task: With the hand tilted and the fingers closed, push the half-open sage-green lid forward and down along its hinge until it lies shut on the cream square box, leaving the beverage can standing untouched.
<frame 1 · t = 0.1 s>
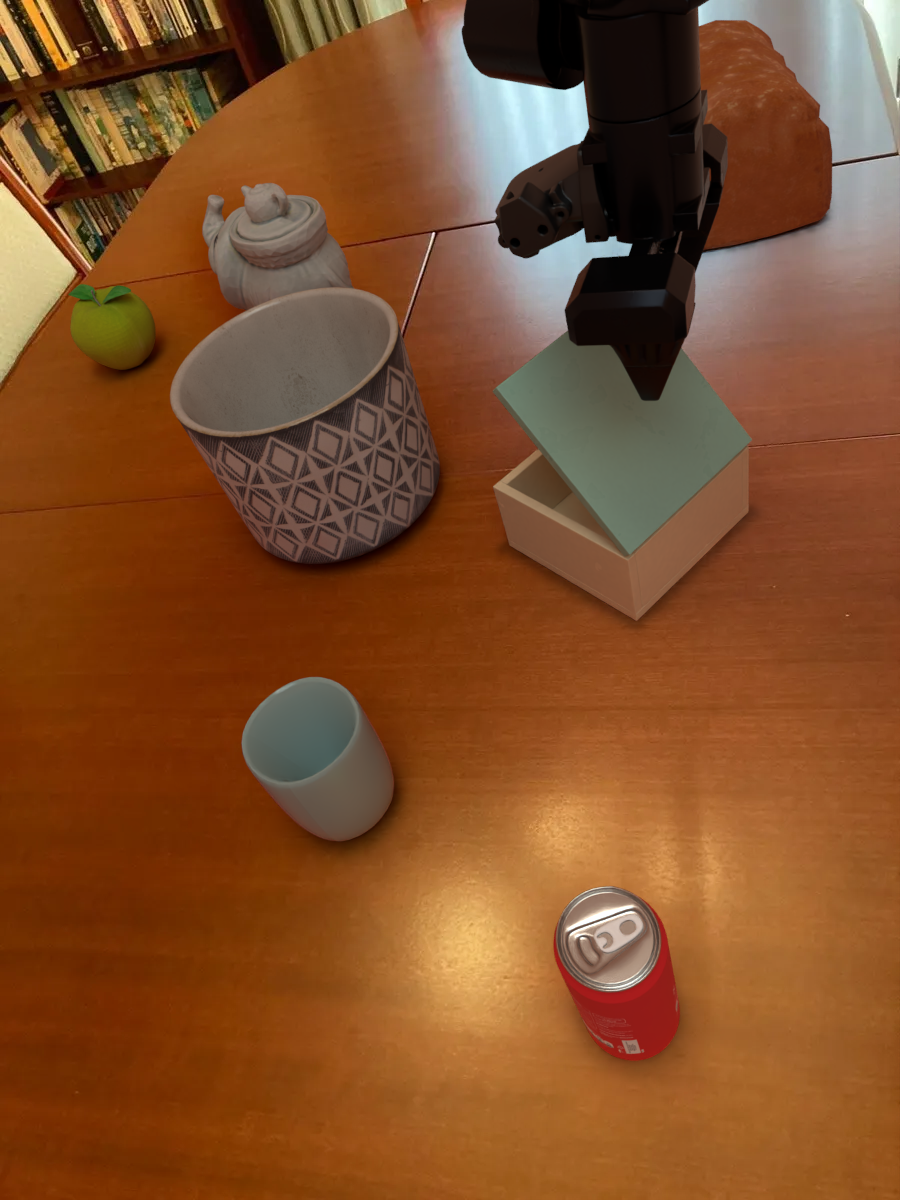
hand: (662, 353, 56), 18 cm above the table, tool pointing down, fingers open, 9 cm apart
cream square box: (625, 529, 72), on the table
bread: (728, 193, 101), on the table
fruit: (134, 363, 110), on the table
cup: (353, 805, 61), on the table
teapot: (305, 337, 104), on the table
maker lid: (627, 416, 61), point 12 cm above the table, hinge at 45.0°
planter: (350, 504, 82), on the table
beverage can: (632, 1014, 49), on the table
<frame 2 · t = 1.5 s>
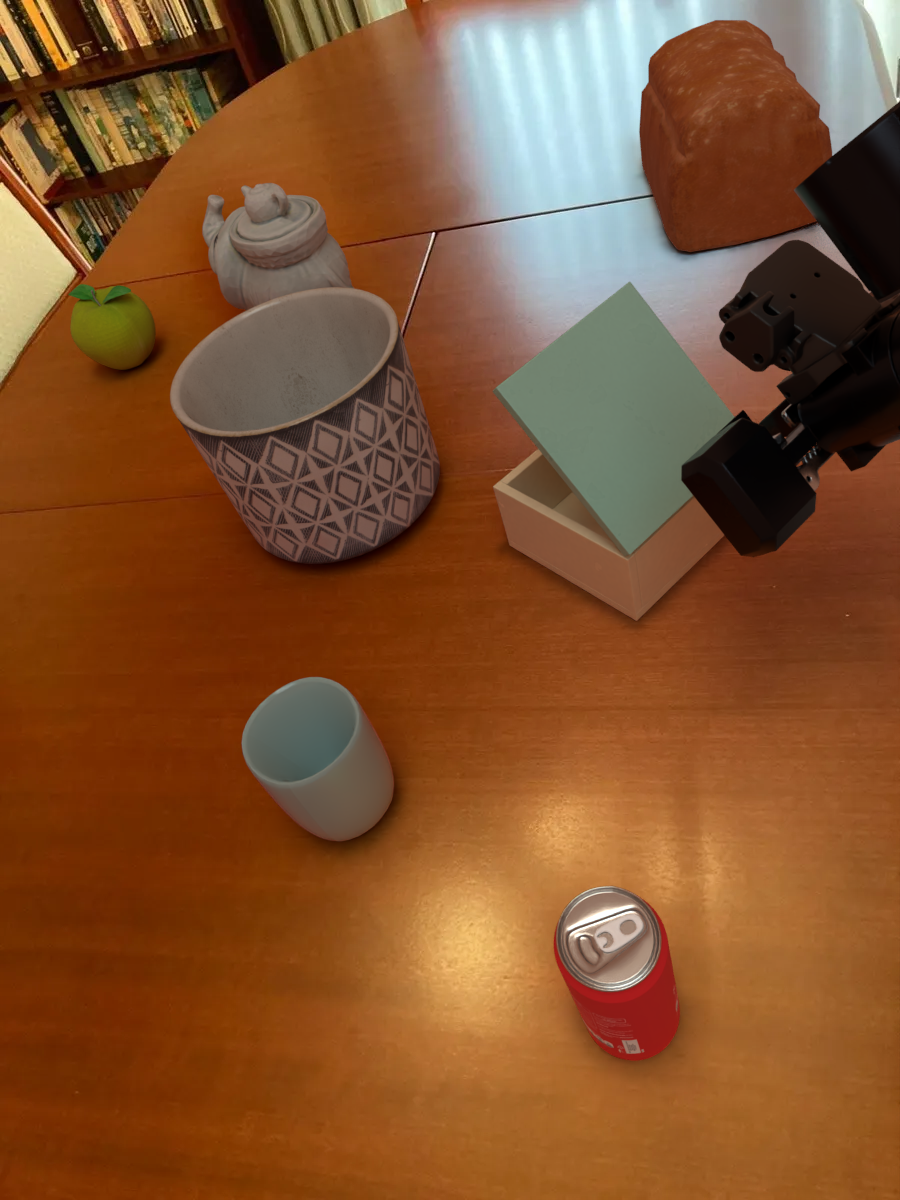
hand: (737, 454, 55), 13 cm above the table, tool tilted 45°, fingers open, 5 cm apart
nothing on the table moved.
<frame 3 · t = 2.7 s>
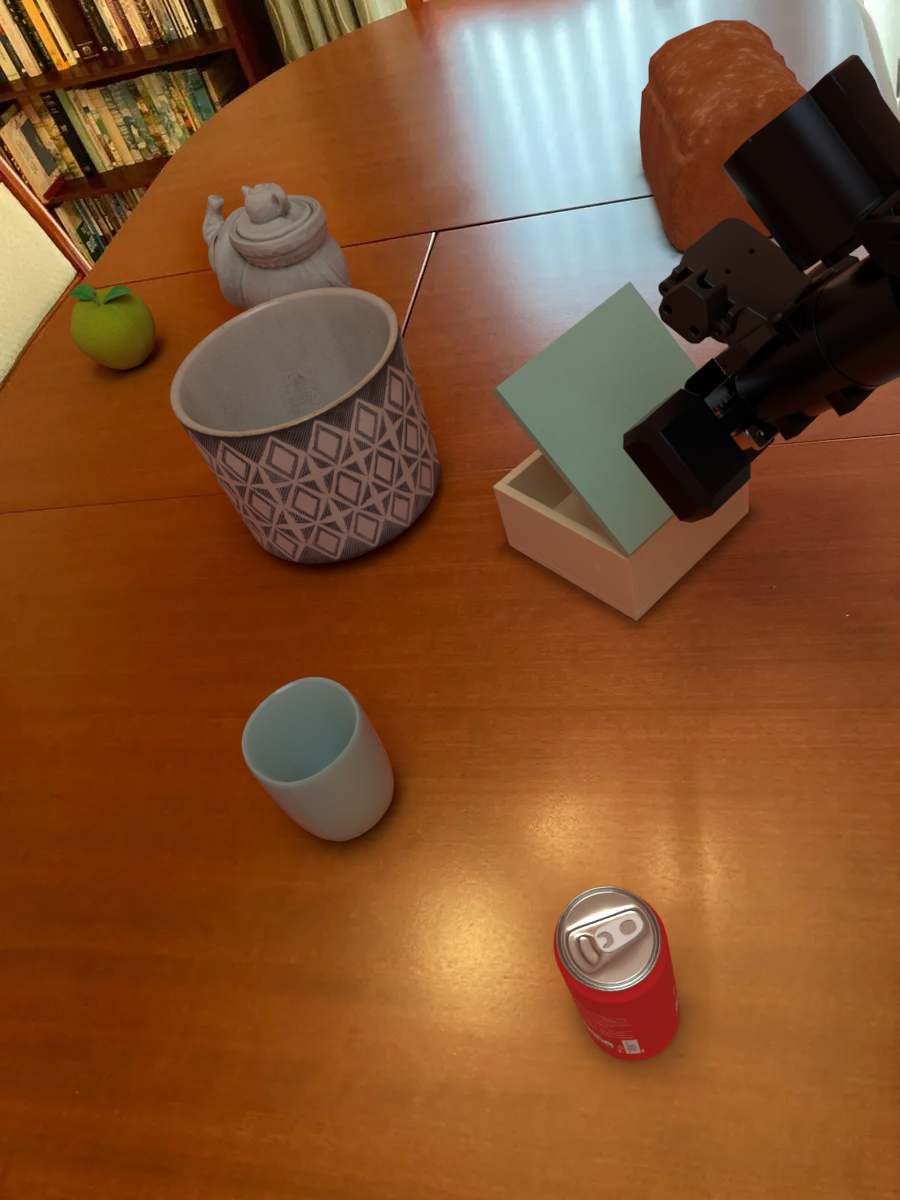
hand: (686, 428, 57), 14 cm above the table, tool tilted 45°, fingers closed
nothing on the table moved.
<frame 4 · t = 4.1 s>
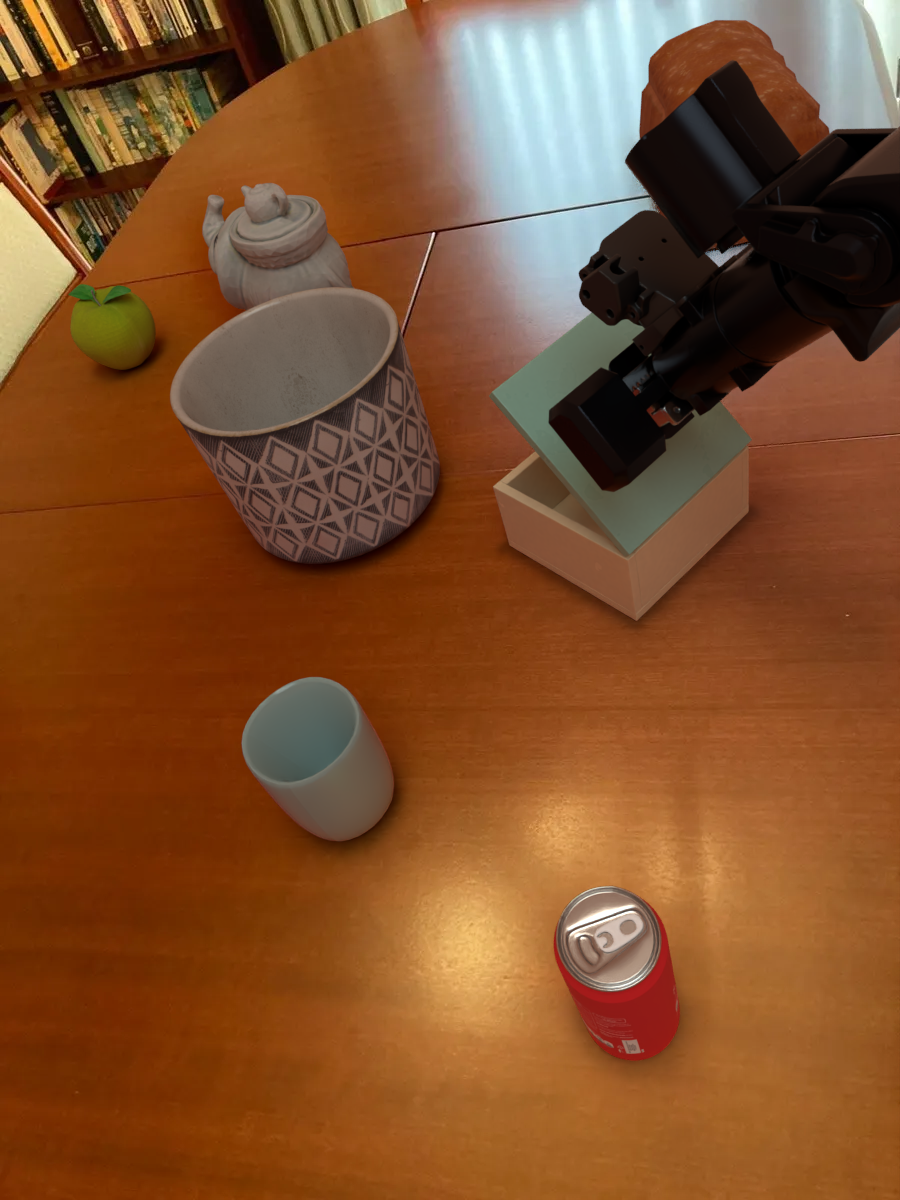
hand: (620, 408, 61), 13 cm above the table, tool tilted 45°, fingers closed, pressing on maker lid
maker lid: (624, 418, 62), point 12 cm above the table, hinge at 41.7°, touching gripper
everything else where it was.
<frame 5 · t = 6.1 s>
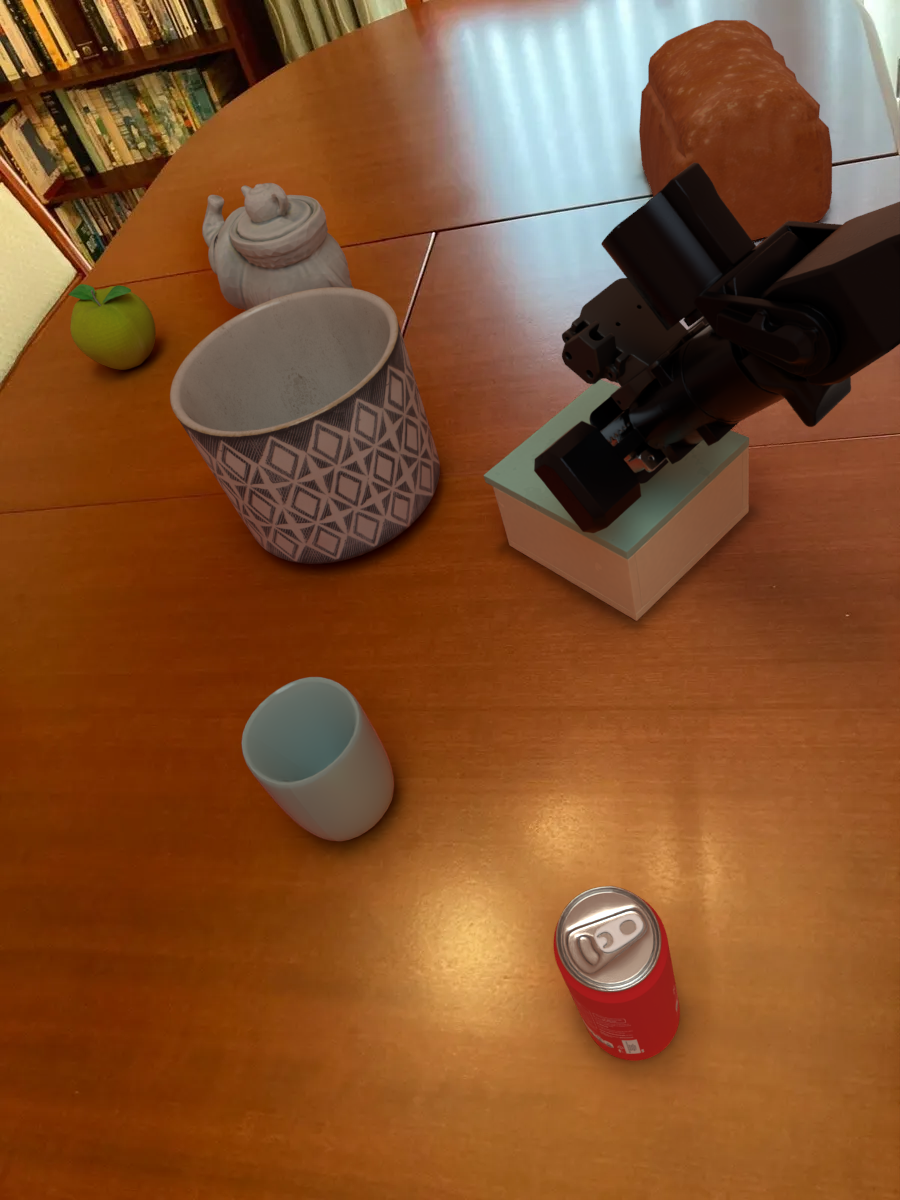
hand: (602, 450, 66), 8 cm above the table, tool tilted 45°, fingers closed, pressing on maker lid
maker lid: (612, 460, 66), point 7 cm above the table, hinge at -0.2°, touching gripper, cream square box
everything else where it was.
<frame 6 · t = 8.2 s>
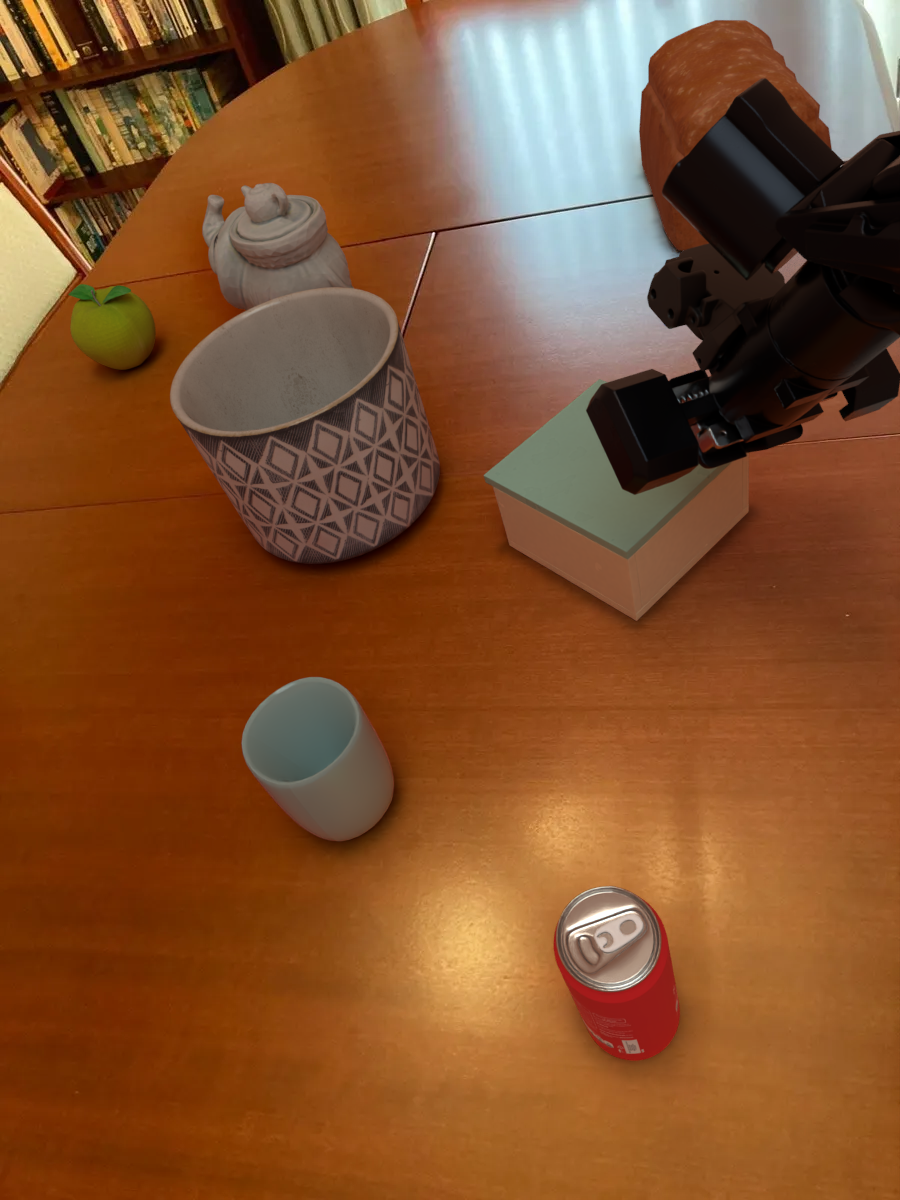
hand: (685, 455, 59), 11 cm above the table, tool tilted 35°, fingers closed
maker lid: (612, 460, 66), point 7 cm above the table, hinge at -0.2°, touching cream square box
everything else where it was.
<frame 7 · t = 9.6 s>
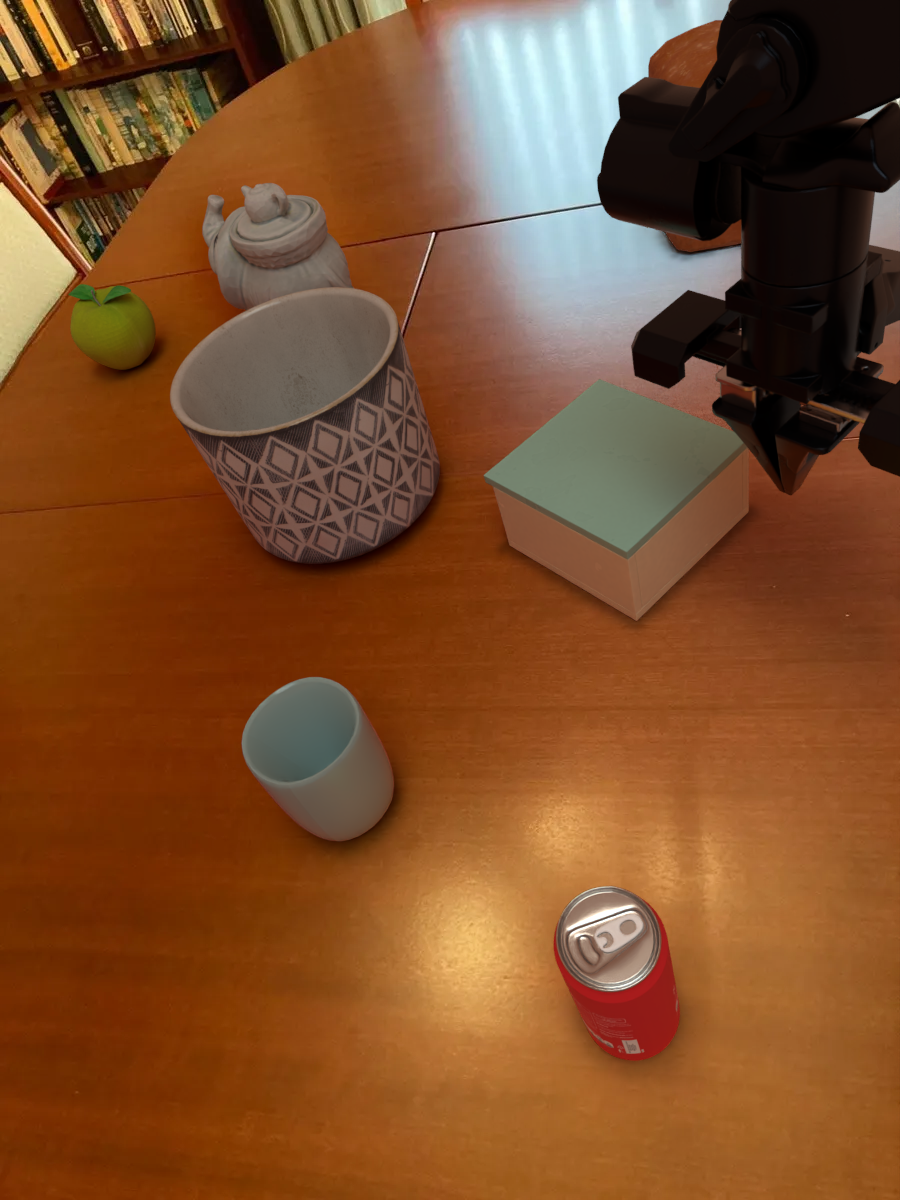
hand: (790, 489, 54), 12 cm above the table, tool pointing down, fingers closed
nothing on the table moved.
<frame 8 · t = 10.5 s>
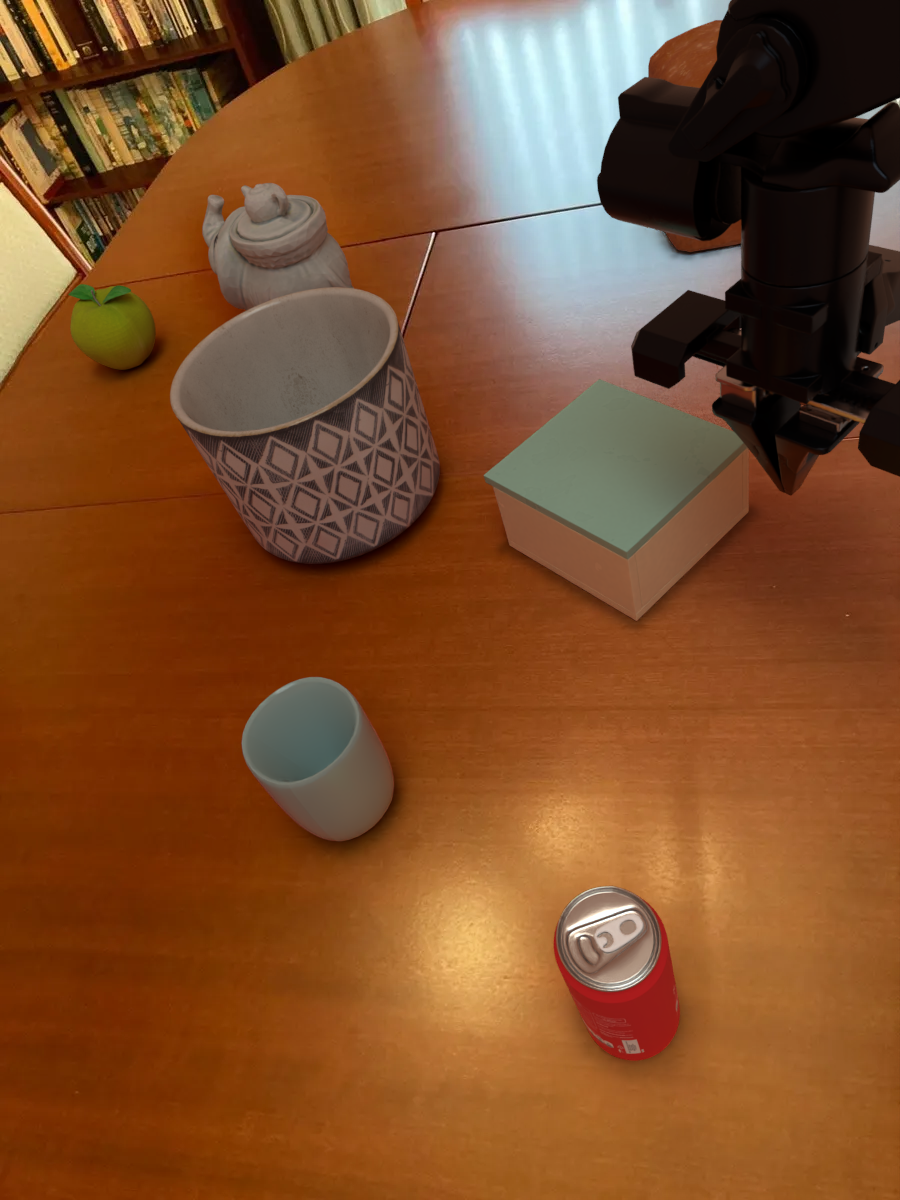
hand: (790, 489, 54), 12 cm above the table, tool pointing down, fingers closed
nothing on the table moved.
at the end: maker lid at +0° (first picture: +45°); beverage can tilted 0°; beverage can moved 0.2 cm from its start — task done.
